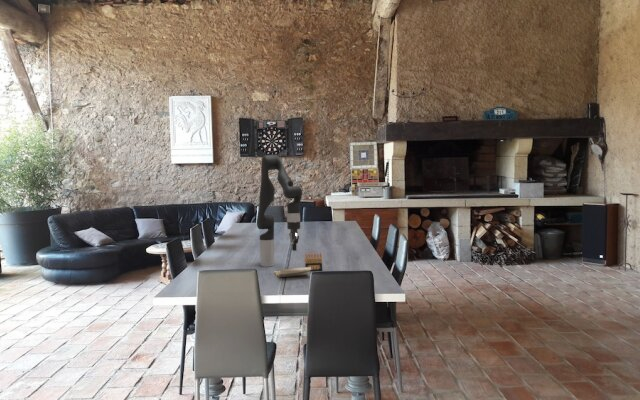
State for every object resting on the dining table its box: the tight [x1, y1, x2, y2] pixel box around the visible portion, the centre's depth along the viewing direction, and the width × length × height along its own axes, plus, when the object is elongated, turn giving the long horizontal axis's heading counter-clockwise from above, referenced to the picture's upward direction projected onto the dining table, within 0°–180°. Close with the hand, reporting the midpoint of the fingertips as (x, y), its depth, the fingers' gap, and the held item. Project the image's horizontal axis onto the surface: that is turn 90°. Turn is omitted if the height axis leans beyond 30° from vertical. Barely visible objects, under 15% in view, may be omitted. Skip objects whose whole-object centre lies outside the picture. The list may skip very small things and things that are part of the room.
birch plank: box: [277, 266, 311, 278], centre depth 295 cm, size 10×18×2 cm, turn 108°
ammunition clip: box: [304, 251, 323, 272], centre depth 312 cm, size 11×2×12 cm, turn 93°
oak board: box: [273, 270, 280, 278], centre depth 304 cm, size 9×18×2 cm, turn 108°
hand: (294, 250), depth 293 cm, fingers closed
